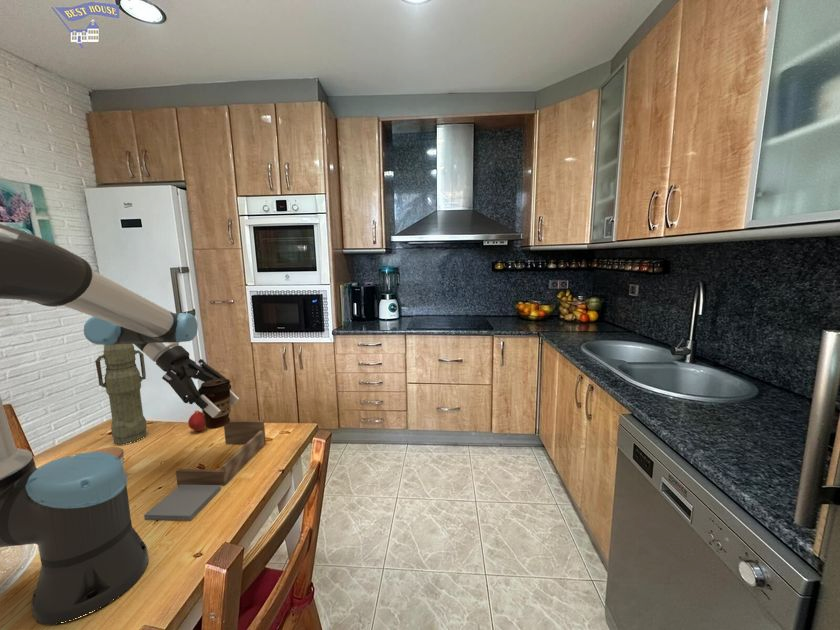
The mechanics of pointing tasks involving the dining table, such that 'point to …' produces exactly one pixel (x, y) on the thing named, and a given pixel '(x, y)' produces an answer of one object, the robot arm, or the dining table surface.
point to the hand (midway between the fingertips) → (226, 407)
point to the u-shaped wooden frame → (236, 434)
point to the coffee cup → (217, 401)
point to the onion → (197, 421)
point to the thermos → (123, 391)
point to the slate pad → (183, 502)
